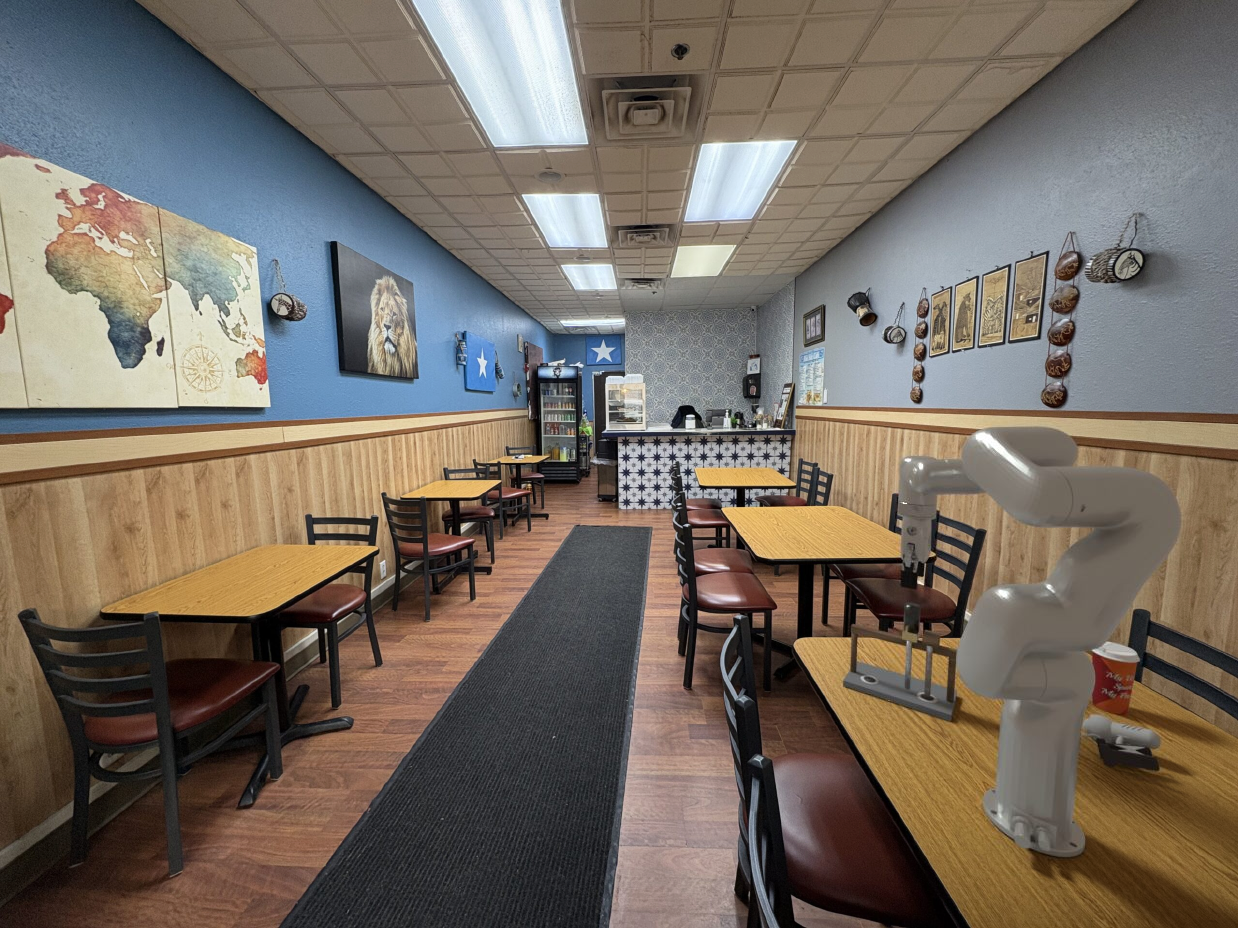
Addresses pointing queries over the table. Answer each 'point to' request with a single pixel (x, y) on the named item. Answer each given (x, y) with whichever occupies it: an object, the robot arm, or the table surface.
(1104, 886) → the table surface
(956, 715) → the table surface
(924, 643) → the divider frame
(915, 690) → the hole plate
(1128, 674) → the paper cup
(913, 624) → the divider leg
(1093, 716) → the clip-on lamp
